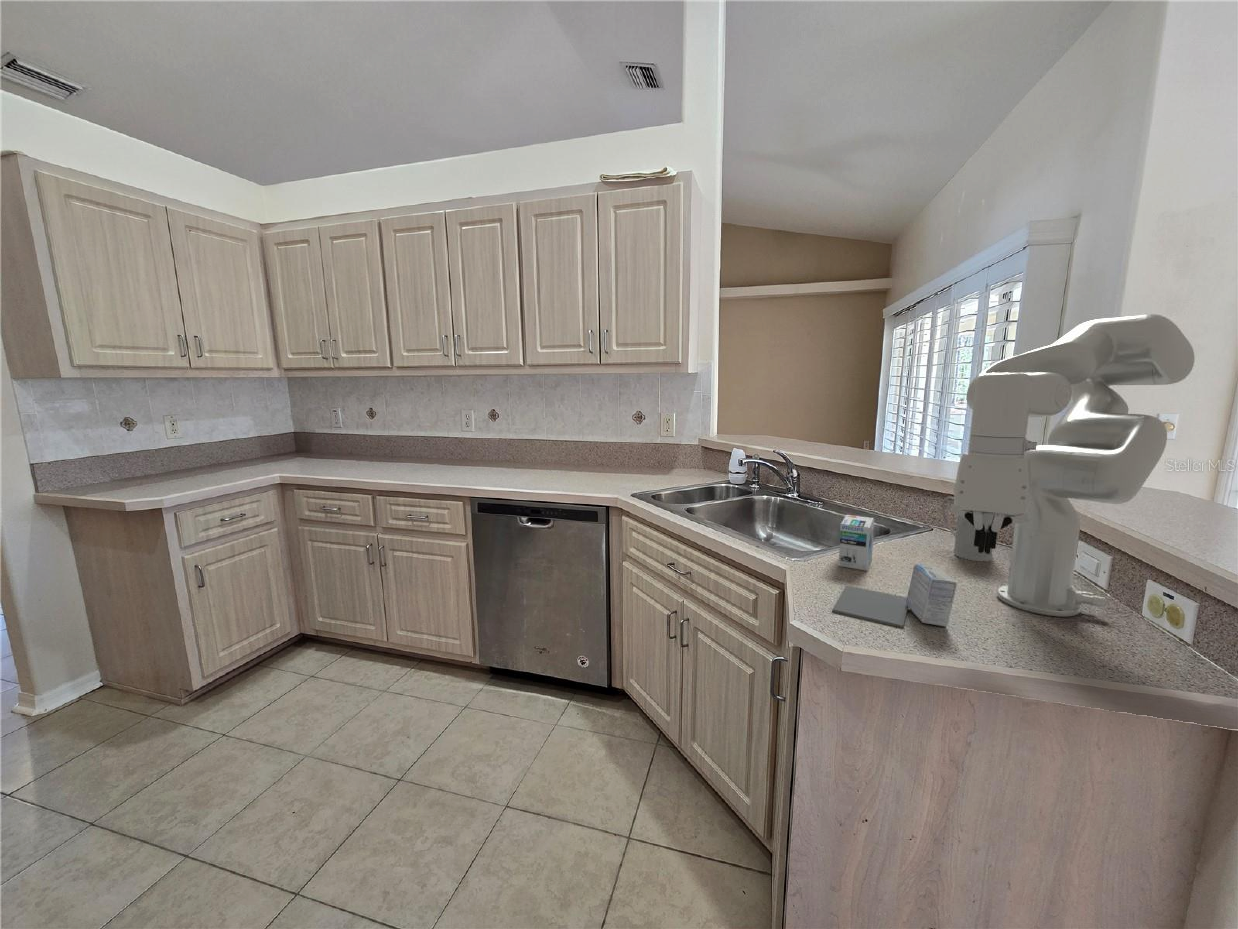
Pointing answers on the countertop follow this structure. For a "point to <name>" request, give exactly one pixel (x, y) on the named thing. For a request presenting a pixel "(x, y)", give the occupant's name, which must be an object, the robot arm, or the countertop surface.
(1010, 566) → the robot arm
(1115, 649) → the countertop surface
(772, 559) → the countertop surface
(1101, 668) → the countertop surface
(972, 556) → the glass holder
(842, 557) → the light bulb box
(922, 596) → the medicine box
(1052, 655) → the countertop surface
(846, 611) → the mat
